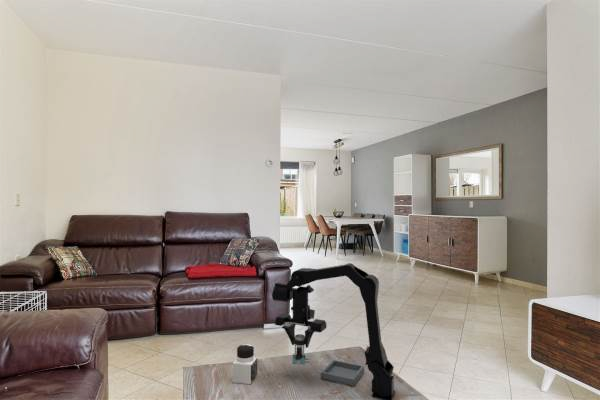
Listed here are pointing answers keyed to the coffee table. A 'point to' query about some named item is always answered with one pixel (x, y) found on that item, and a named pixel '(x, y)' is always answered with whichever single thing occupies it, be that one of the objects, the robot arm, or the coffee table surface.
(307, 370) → the coffee table surface
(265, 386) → the coffee table surface
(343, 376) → the charcoal tray
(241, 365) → the medicine bottle
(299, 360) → the push button
